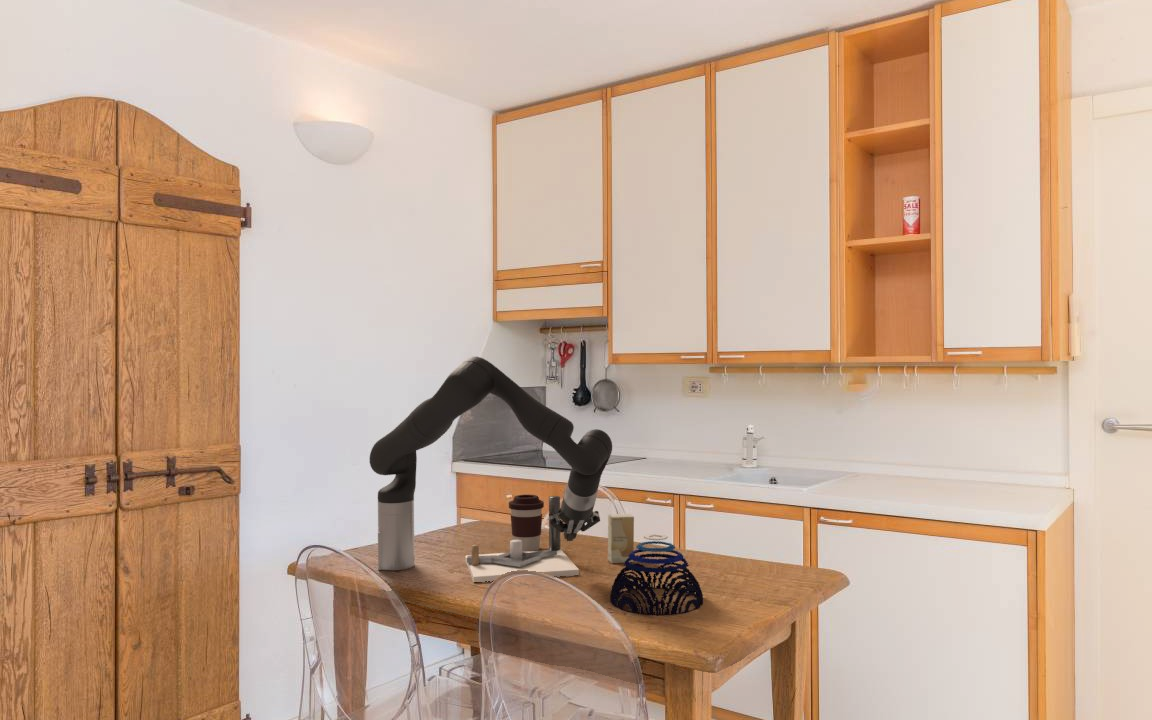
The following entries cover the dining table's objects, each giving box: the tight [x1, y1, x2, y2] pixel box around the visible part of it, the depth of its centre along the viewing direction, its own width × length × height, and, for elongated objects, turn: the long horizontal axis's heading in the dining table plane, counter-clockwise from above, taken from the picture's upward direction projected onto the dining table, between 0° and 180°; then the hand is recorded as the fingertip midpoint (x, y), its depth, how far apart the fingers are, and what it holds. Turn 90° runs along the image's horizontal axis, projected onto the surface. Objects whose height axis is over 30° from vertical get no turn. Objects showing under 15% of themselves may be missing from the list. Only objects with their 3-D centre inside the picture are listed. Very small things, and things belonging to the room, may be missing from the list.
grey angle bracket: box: [467, 495, 562, 567], centre depth 209 cm, size 20×17×15 cm
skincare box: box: [607, 513, 635, 564], centre depth 212 cm, size 6×4×12 cm
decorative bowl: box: [609, 533, 704, 617], centre depth 177 cm, size 20×20×14 cm
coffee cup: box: [508, 494, 545, 552], centre depth 227 cm, size 10×10×15 cm
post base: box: [465, 539, 580, 583], centre depth 206 cm, size 26×22×7 cm
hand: (569, 537), depth 198 cm, fingers closed
